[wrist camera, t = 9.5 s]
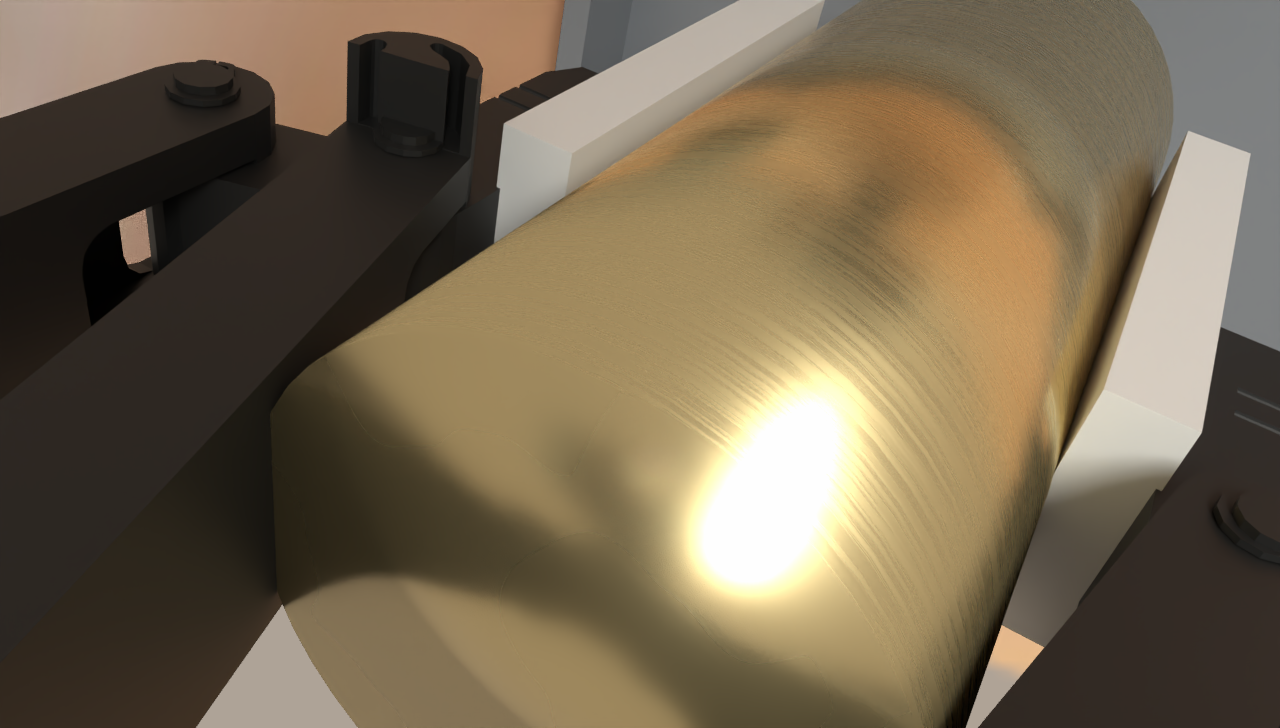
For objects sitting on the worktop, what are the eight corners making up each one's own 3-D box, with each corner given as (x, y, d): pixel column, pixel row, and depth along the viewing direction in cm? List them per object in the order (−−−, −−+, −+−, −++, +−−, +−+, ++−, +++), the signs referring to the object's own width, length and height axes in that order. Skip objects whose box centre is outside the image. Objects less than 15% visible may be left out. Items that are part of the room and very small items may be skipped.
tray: (741, -703, 17) (669, -749, 15) (2221, -467, 12) (2386, -495, 10) (581, 224, 28) (528, 263, 26) (1316, 567, 23) (1314, 645, 21)
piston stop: (886, -104, 15) (237, 195, 6) (1247, 14, 14) (1090, 629, 5) (790, 202, 18) (266, 699, 9) (1077, 325, 17) (787, 1057, 8)
